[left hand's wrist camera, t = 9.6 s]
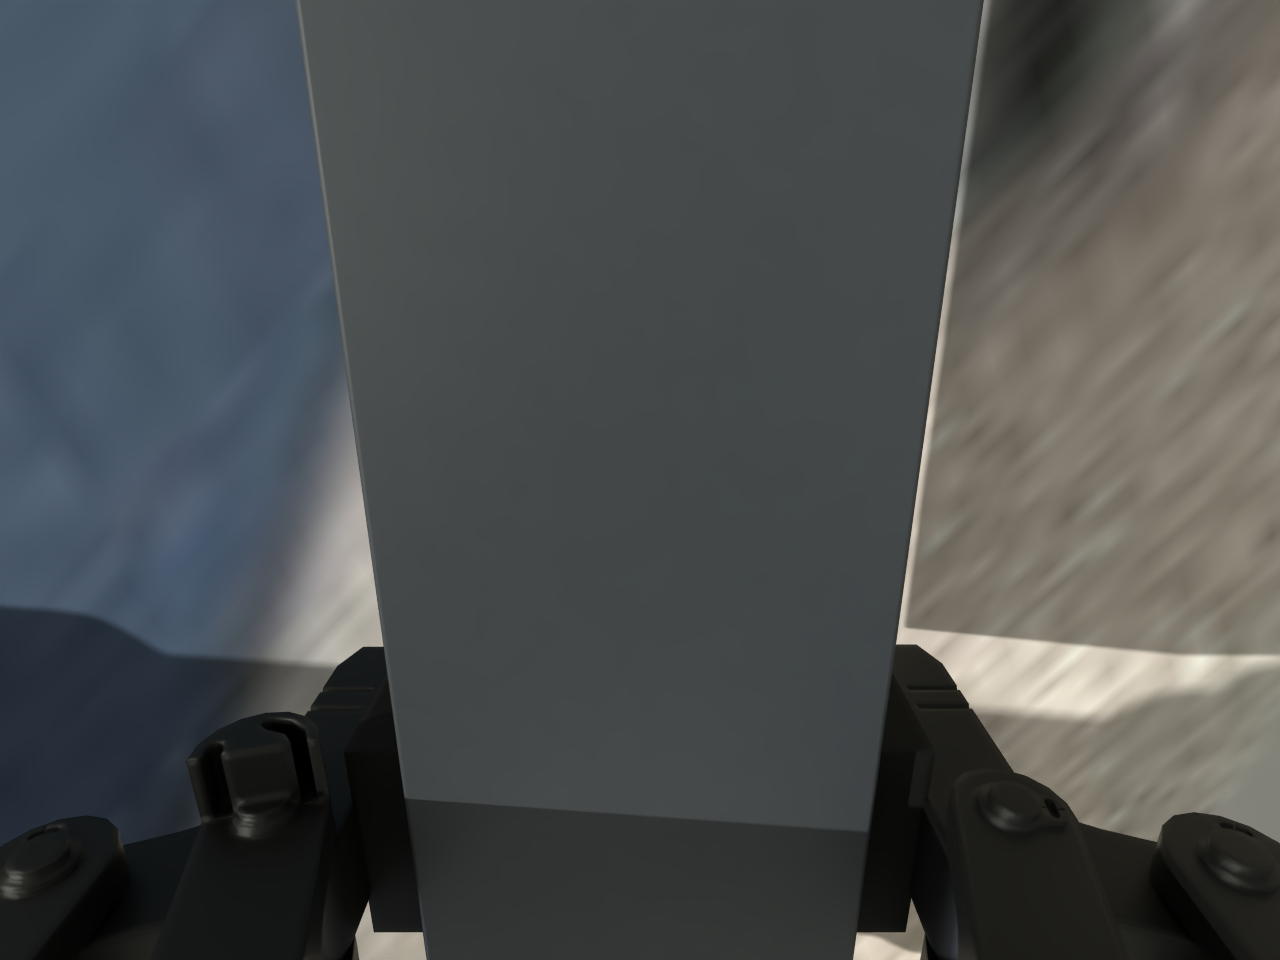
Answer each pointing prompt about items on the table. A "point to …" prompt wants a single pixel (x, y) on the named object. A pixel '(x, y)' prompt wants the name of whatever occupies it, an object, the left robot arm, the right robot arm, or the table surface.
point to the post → (639, 442)
